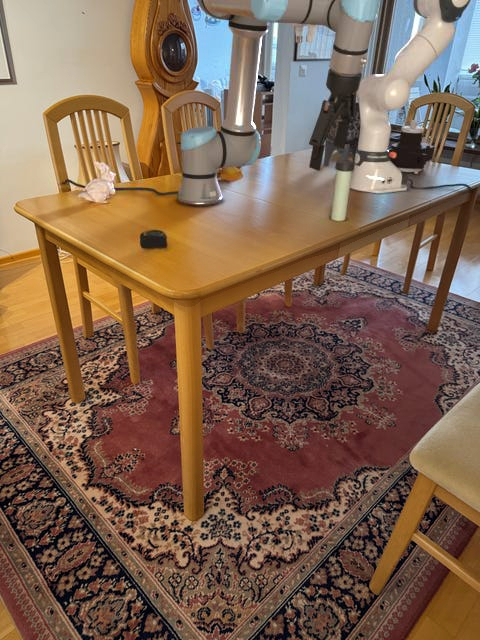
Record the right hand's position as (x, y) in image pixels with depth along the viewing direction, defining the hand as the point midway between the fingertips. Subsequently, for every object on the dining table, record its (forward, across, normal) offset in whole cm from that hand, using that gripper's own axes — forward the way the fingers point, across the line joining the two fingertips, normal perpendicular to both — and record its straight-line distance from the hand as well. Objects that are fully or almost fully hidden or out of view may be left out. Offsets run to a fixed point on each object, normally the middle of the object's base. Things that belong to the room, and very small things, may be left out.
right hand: (304, 42), depth 147 cm
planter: (+48, +37, -37) cm, 71 cm away
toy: (+48, +21, +19) cm, 56 cm away
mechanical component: (+48, +28, -67) cm, 87 cm away
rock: (+48, +73, -58) cm, 105 cm away
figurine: (+48, -3, +70) cm, 85 cm away
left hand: (+27, -49, +10) cm, 57 cm away
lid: (+31, -35, -3) cm, 47 cm away
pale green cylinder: (+48, -35, -3) cm, 59 cm away
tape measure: (+48, -50, +55) cm, 89 cm away
